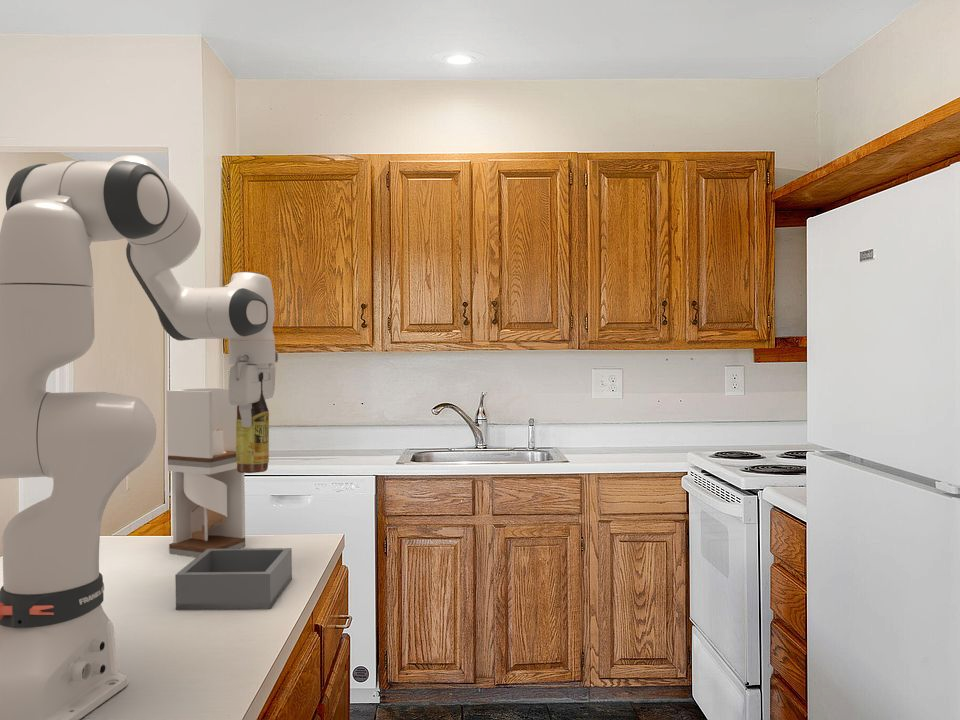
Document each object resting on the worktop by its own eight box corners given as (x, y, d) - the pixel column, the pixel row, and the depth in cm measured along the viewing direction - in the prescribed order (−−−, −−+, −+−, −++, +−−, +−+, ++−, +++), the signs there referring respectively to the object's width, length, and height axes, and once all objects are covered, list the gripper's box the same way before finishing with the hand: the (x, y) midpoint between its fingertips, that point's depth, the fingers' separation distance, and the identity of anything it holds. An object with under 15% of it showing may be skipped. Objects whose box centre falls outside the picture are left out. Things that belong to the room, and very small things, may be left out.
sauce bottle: (259, 474, 149) (258, 372, 149) (230, 473, 150) (228, 372, 150) (275, 469, 156) (274, 371, 155) (246, 468, 157) (245, 370, 156)
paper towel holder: (169, 553, 165) (166, 390, 164) (204, 541, 175) (202, 387, 174) (211, 559, 160) (208, 391, 159) (245, 546, 170) (243, 388, 169)
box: (270, 608, 131) (270, 573, 131) (175, 609, 131) (175, 574, 131) (291, 579, 147) (291, 548, 147) (207, 580, 147) (207, 548, 147)
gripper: (253, 356, 142) (254, 430, 143) (280, 354, 163) (280, 419, 163) (219, 356, 142) (219, 430, 142) (250, 354, 163) (251, 419, 163)
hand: (252, 424), depth 153 cm, fingers closed on sauce bottle, 6 cm apart
